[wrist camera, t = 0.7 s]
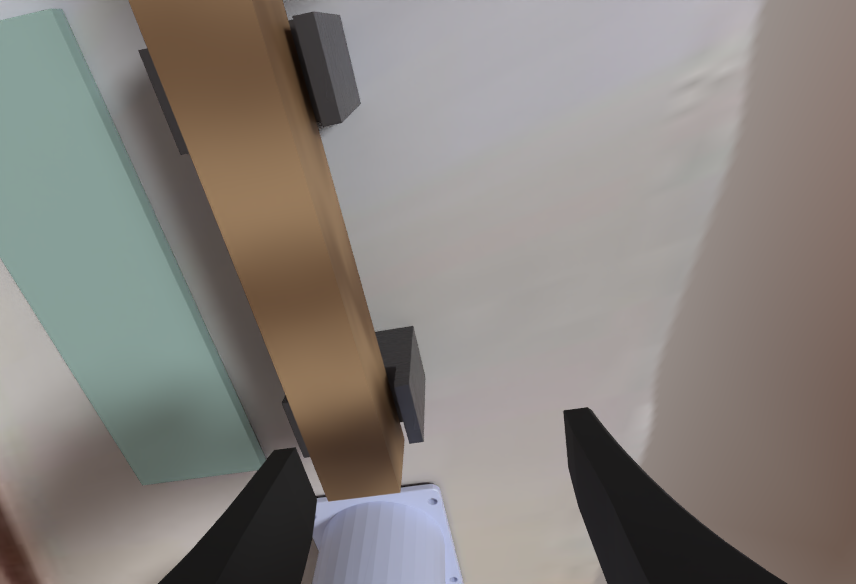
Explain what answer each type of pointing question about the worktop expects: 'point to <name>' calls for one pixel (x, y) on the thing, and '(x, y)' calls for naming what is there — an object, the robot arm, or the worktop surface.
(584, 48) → the worktop surface
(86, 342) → the mat
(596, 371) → the worktop surface
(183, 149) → the post
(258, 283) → the rail
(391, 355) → the post
